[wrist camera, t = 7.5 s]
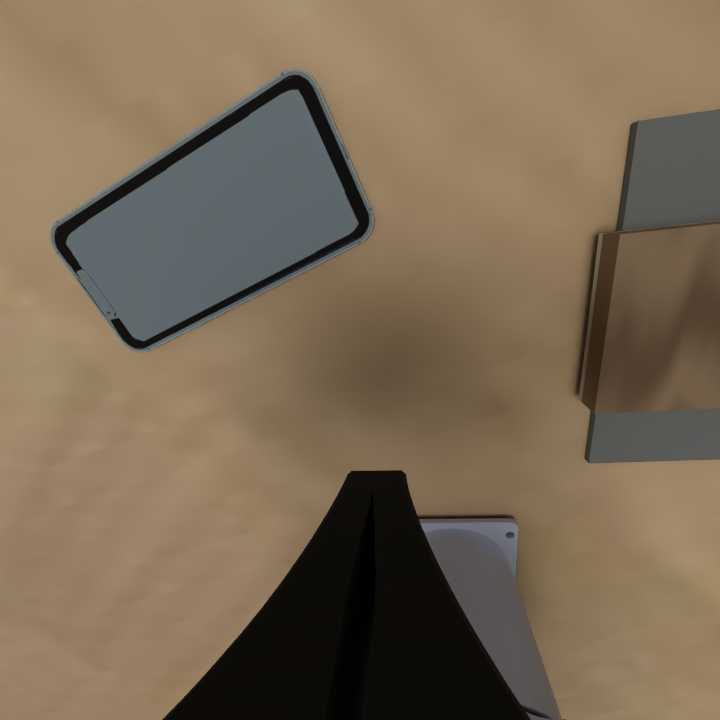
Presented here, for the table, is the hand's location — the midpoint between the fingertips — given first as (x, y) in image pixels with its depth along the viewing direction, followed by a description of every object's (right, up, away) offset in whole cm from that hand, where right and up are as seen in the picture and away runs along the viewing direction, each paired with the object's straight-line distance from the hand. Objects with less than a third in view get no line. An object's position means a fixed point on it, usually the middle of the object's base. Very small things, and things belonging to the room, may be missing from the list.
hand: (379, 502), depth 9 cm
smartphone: (-8, +10, +9) cm, 15 cm away
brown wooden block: (+10, +5, +7) cm, 13 cm away
